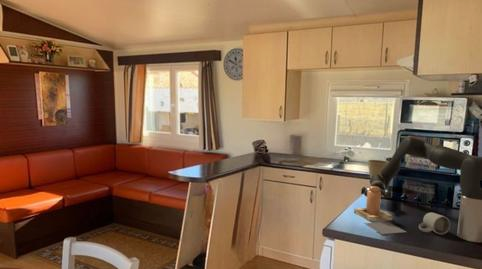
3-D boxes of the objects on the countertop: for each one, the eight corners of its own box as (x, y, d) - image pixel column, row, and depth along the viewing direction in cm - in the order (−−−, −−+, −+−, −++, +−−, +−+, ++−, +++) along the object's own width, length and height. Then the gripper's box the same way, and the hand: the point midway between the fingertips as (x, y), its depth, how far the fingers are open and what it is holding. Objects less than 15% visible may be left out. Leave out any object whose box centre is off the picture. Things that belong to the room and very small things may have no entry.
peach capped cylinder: (366, 213, 162) (368, 184, 161) (379, 215, 160) (381, 186, 158) (364, 217, 156) (366, 188, 155) (378, 219, 153) (380, 189, 152)
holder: (375, 212, 166) (375, 207, 165) (392, 220, 154) (392, 215, 154) (353, 213, 163) (354, 208, 162) (369, 222, 151) (369, 217, 151)
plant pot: (384, 189, 211) (386, 164, 209) (362, 185, 222) (364, 161, 220) (394, 186, 221) (396, 162, 219) (372, 181, 232) (374, 159, 230)
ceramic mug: (436, 227, 148) (437, 210, 147) (450, 234, 140) (451, 216, 139) (414, 228, 147) (415, 210, 146) (426, 235, 139) (428, 217, 138)
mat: (387, 223, 151) (387, 221, 151) (406, 233, 140) (406, 231, 140) (364, 224, 148) (364, 223, 148) (381, 235, 137) (382, 233, 137)
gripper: (364, 180, 184) (360, 186, 169) (392, 183, 178) (391, 190, 163) (363, 193, 185) (359, 200, 170) (391, 197, 179) (390, 205, 164)
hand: (375, 195), depth 167 cm, fingers open, 8 cm apart
